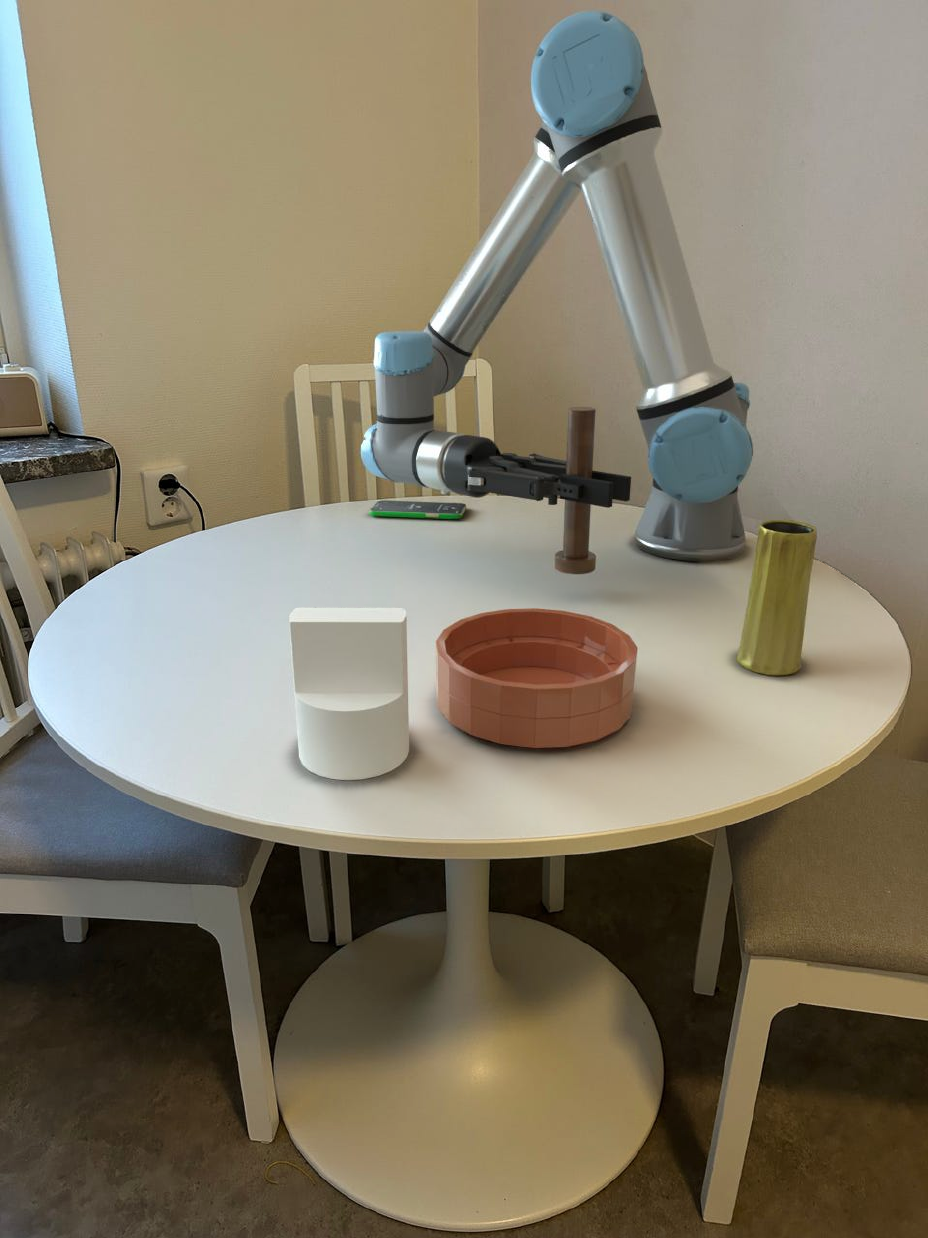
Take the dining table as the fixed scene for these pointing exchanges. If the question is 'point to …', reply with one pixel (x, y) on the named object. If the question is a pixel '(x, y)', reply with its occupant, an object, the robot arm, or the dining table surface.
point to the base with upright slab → (350, 690)
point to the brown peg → (575, 513)
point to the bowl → (535, 677)
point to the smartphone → (418, 509)
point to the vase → (778, 598)
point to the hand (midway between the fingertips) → (619, 491)
